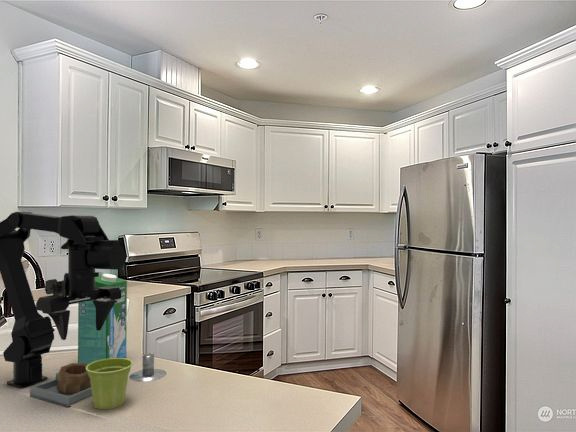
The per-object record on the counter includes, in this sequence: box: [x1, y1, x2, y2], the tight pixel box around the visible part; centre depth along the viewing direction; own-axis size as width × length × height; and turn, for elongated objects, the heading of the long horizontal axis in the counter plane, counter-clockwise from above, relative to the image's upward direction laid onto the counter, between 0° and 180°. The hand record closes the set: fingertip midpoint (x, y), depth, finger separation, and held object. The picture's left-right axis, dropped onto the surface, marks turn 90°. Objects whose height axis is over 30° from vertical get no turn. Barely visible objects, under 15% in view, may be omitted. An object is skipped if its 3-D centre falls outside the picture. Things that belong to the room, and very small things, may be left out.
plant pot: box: [86, 357, 134, 410], centre depth 91 cm, size 9×9×9 cm
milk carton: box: [77, 271, 128, 364], centre depth 117 cm, size 9×9×25 cm
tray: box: [29, 377, 92, 408], centre depth 98 cm, size 13×13×2 cm
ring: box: [54, 362, 91, 394], centre depth 98 cm, size 7×9×4 cm
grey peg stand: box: [128, 353, 167, 383], centre depth 107 cm, size 9×9×5 cm
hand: (81, 334), depth 98 cm, fingers open, 9 cm apart
